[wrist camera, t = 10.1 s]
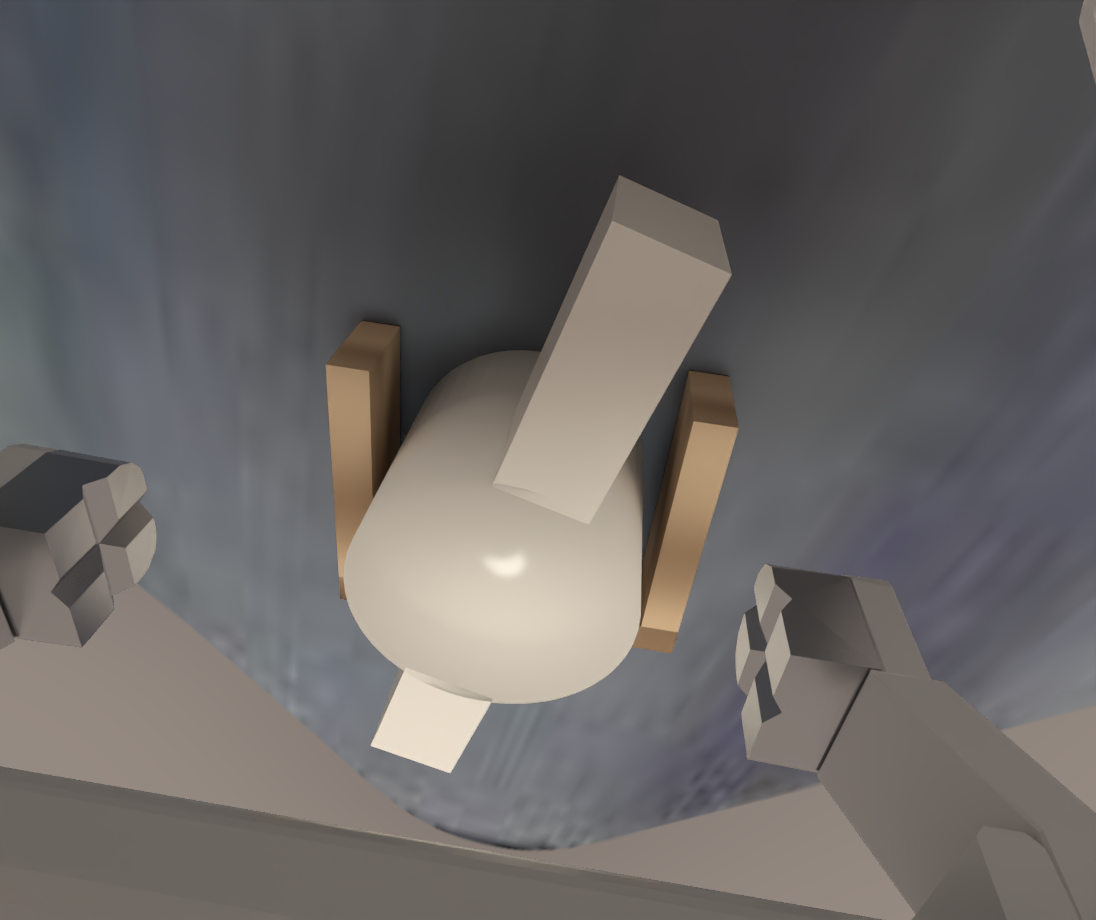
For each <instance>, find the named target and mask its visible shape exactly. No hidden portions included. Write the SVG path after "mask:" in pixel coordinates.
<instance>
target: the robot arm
mask: <svg viewBox="0 0 1096 920" xmlns="http://www.w3.org/2000/svg"><path fill="white" fill-rule="evenodd" d="M146 491H147V487H146V484H145V480H144V476H143V473H142V469H140V468H139V467H137V466H136V465H134V464H132V463H130V462H125V461H119V460H114V459H108V458H103V457H97V456H92V455H86V454H81V453H75V452H70V451H64V450H55V449H51V448H45V447H39V446H33V445H27V444H19V445H12V446H8V447H7V448H5V449H4V450H2V451H1V452H0V650H1V649H3V648H4V647H6V646H8V645H10V644H11V643H13V642H14V641H15V640H14V638H17V639H24V640H31V641H38V642H45V643H53V644H60V645H67V646H75V647H83V645H85V643H86V642H87V641H88V640H89V639H90V638H91V636H92V635H93V634H94V633H95V632H96V630H97V629H98V628H99V627H100V626H101V625H102V623H103V622H104V621H105V620H106V619H107V618H108V617H109V615H110V614H111V613H112V612H113V611H114V601H113V596H114V595H116V594H118V593H120V592H122V591H124V590H126V589H129V588H131V587H133V586H135V585H136V584H137V582H138V581H139V580H140V579H141V577H142V576H143V575H144V574H145V573H146V571H147V570H148V567H149V565H150V562H151V560H152V557H153V555H154V552H155V550H156V528H155V523H154V518H153V517H152V515H151V514H150V513H149V512H148V511H147V510H146V509H145V508H144V507H143V506H142V505H141V504H140V502H139V501H140V500H141V498H142V497H143V496H144V494H145V493H146ZM754 591H755V597H756V603H757V605H756V606H754V607H753V608H751V609H750V610H748V611H747V612H745V614H744V617H743V620H742V623H741V627H740V630H739V634H738V641H737V647H736V675H737V684H738V686H739V687H740V688H741V689H742V690H743V691H744V693H745V694H746V695H747V696H748V697H747V699H746V702H745V705H744V708H743V710H742V713H741V715H742V723H743V730H744V737H745V744H746V752H747V759H750V760H755V761H760V762H765V763H770V764H775V765H780V766H786V767H791V768H796V769H801V770H806V771H811V772H816V773H818V774H817V777H818V778H819V780H820V781H821V783H822V784H823V785H824V787H825V788H826V790H827V791H828V792H829V794H830V795H831V797H832V798H833V799H834V801H835V802H836V803H837V805H838V806H839V808H840V809H841V811H842V812H843V813H844V815H845V816H846V818H847V819H848V820H849V822H850V823H851V824H852V826H853V827H854V829H855V830H856V832H857V833H858V834H859V836H860V837H861V838H862V840H863V841H864V843H865V844H866V845H867V847H868V848H869V850H870V851H871V852H872V854H873V855H874V857H875V858H876V859H877V861H878V862H879V864H880V865H881V866H882V868H883V869H884V871H885V872H886V873H887V875H888V876H889V878H890V879H891V880H892V882H893V883H894V885H895V886H896V887H897V889H898V890H899V891H900V893H901V894H902V896H903V897H904V898H905V900H906V901H907V903H908V904H909V905H910V907H911V908H912V910H913V911H914V912H915V914H916V915H915V917H914V918H913V919H912V920H1096V813H1095V812H1094V811H1093V810H1092V809H1090V808H1089V807H1088V806H1087V805H1086V804H1084V803H1083V802H1082V801H1081V800H1080V799H1079V798H1078V797H1076V796H1075V795H1074V794H1073V793H1072V792H1071V791H1070V790H1068V789H1067V788H1066V787H1065V786H1064V785H1063V784H1061V783H1060V782H1059V781H1058V780H1057V779H1056V778H1055V777H1053V776H1052V775H1051V774H1050V773H1049V772H1048V771H1046V770H1045V769H1044V768H1043V767H1042V766H1041V765H1040V764H1038V763H1037V762H1036V761H1035V760H1034V759H1033V758H1031V757H1030V756H1029V755H1028V754H1027V753H1026V752H1024V751H1023V750H1022V749H1021V748H1020V747H1018V745H1016V744H1015V743H1014V742H1013V741H1012V740H1011V739H1009V738H1008V737H1007V736H1006V735H1005V734H1004V733H1002V732H1001V731H1000V730H999V729H998V728H997V727H996V726H994V725H993V724H992V723H991V722H990V721H989V720H987V719H986V718H985V717H984V716H983V715H982V714H980V713H979V712H978V711H977V710H976V709H975V708H974V707H972V706H971V705H970V704H969V703H968V702H967V701H965V700H964V699H963V698H962V697H961V696H960V695H958V694H957V693H956V692H955V691H954V690H953V689H952V688H950V687H949V686H948V685H947V684H946V683H945V682H942V681H937V680H931V678H930V676H929V673H928V671H927V669H926V666H925V664H924V661H923V659H922V657H921V654H920V652H919V649H918V647H917V645H916V642H915V640H914V638H913V635H912V633H911V630H910V628H909V626H908V623H907V621H906V618H905V616H904V614H903V611H902V609H901V606H900V604H899V602H898V599H897V597H896V595H895V592H894V590H893V587H892V586H891V585H890V584H889V583H888V582H887V581H886V580H881V579H873V578H866V577H858V576H851V575H844V576H841V575H835V574H829V573H822V572H816V571H809V570H803V569H796V568H790V567H783V566H777V565H770V564H765V565H764V566H763V568H762V569H761V570H760V572H759V575H758V577H757V580H756V583H755V585H754ZM0 920H881V919H876V918H870V917H865V916H859V915H853V914H847V913H842V912H835V911H830V910H824V909H819V908H812V907H807V906H801V905H796V904H789V903H784V902H778V901H772V900H767V899H761V898H755V897H750V896H744V895H738V894H732V893H726V892H720V891H715V890H709V889H703V888H698V887H692V886H686V885H681V884H675V883H669V882H663V881H658V880H652V879H646V878H640V877H634V876H629V875H623V874H617V873H611V872H605V871H600V870H594V869H588V868H582V867H576V866H570V865H565V864H559V863H553V862H547V861H542V860H536V859H530V858H524V857H518V856H513V855H507V854H501V853H495V852H489V851H484V850H478V849H472V848H466V847H460V846H454V845H448V844H443V843H437V842H431V841H425V840H420V839H414V838H407V837H402V836H397V835H391V834H385V833H379V832H374V831H368V830H362V829H356V828H351V827H345V826H339V825H333V824H327V823H322V822H316V821H311V820H305V819H299V818H293V817H288V816H282V815H276V814H271V813H265V812H259V811H253V810H248V809H241V808H236V807H230V806H224V805H219V804H213V803H208V802H202V801H196V800H190V799H185V798H179V797H173V796H167V795H162V794H155V793H150V792H144V791H139V790H133V789H127V788H121V787H116V786H110V785H104V784H99V783H93V782H87V781H81V780H75V779H70V778H64V777H58V776H52V775H47V774H41V773H34V772H29V771H24V770H18V769H12V768H6V767H1V766H0Z"/></svg>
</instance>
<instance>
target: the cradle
mask: <svg viewBox="0 0 1096 920" xmlns="http://www.w3.org/2000/svg"><path fill="white" fill-rule="evenodd" d="M326 379H327V395H328V411H329V427H330V442H331V458H332V474H333V490H334V506H335V522H336V538H337V553H338V569H339V585H340V599H345V600H347V598H346V594H345V587H344V580H343V578H344V563H345V559H346V555H347V551H348V548H349V546H350V544H351V542H352V539H353V537H354V535H355V533H356V531H357V529H358V527H359V526H360V524H361V522H362V520H363V518H364V516H365V514H366V512H367V510H368V508H369V506H370V504H371V503H372V501H373V499H374V497H375V495H376V493H377V491H378V489H379V487H380V485H381V483H382V482H383V480H384V478H385V476H386V474H387V472H388V470H389V468H390V466H391V464H392V462H393V460H394V459H395V457H396V455H397V453H398V451H399V449H400V327H399V326H392V325H386V324H379V323H373V322H366V321H361V322H360V323H359V324H358V325H357V327H356V328H355V329H354V330H353V332H352V333H351V334H350V335H349V336H348V338H347V339H346V340H345V341H344V343H343V344H342V345H341V346H340V347H339V349H338V350H337V351H336V352H335V354H334V355H333V356H332V357H331V359H330V360H329V361H328V362H327V363H326ZM738 429H739V427H738V422H737V417H736V411H735V406H734V400H733V395H732V390H731V384H730V379H729V376H722V375H715V374H709V373H702V372H696V371H689V373H688V377H687V381H686V385H685V389H684V393H683V398H682V402H681V406H680V410H679V414H678V418H677V422H676V427H675V431H674V435H673V439H672V443H671V447H670V451H669V456H668V460H667V464H666V468H665V472H664V476H663V480H662V484H661V489H660V493H659V497H658V501H657V505H656V509H655V513H654V518H653V522H652V526H651V530H650V534H649V538H648V542H647V547H646V551H645V555H644V559H643V563H642V576H641V618H640V624H639V629H638V632H637V635H636V638H635V641H634V643H633V645H632V647H636V648H642V649H648V650H654V651H660V652H666V653H672V651H673V647H674V644H675V641H676V637H677V634H678V630H679V627H680V624H681V620H682V617H683V614H684V610H685V607H686V604H687V600H688V597H689V593H690V590H691V587H692V583H693V580H694V577H695V573H696V570H697V567H698V563H699V560H700V557H701V553H702V550H703V546H704V543H705V540H706V536H707V533H708V530H709V526H710V523H711V520H712V516H713V513H714V509H715V506H716V503H717V499H718V496H719V493H720V489H721V486H722V483H723V479H724V476H725V472H726V469H727V466H728V462H729V459H730V456H731V452H732V449H733V446H734V442H735V439H736V436H737V432H738Z"/></svg>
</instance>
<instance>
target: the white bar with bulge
mask: <svg viewBox="0 0 1096 920" xmlns="http://www.w3.org/2000/svg"><path fill="white" fill-rule="evenodd" d="M731 275H732V273H731V269H730V265H729V261H728V257H727V253H726V249H725V245H724V242H723V238H722V234H721V230H720V226H719V222H718V220H716V219H714V218H712V217H710V216H708V215H705V214H703V213H701V212H699V211H697V210H694V209H692V208H690V207H688V206H686V205H684V204H681V203H679V202H677V201H675V200H673V199H670V198H668V197H666V196H664V195H662V194H659V193H657V192H655V191H653V190H651V189H649V188H646V187H644V186H642V185H640V184H638V183H635V182H633V181H631V180H629V179H627V178H624V177H622V176H620V175H619V177H618V179H617V181H616V184H615V186H614V188H613V190H612V193H611V195H610V197H609V199H608V202H607V204H606V206H605V208H604V211H603V213H602V215H601V218H600V220H599V222H598V224H597V227H596V229H595V231H594V233H593V236H592V238H591V240H590V242H589V245H588V247H587V249H586V251H585V254H584V256H583V258H582V260H581V263H580V265H579V267H578V269H577V272H576V274H575V276H574V279H573V281H572V283H571V285H570V288H569V290H568V292H567V294H566V297H565V299H564V301H563V303H562V306H561V308H560V310H559V312H558V315H557V317H556V319H555V321H554V324H553V326H552V328H551V330H550V333H549V335H548V337H547V339H546V342H545V344H544V346H543V349H542V351H541V352H538V351H528V350H509V351H502V352H495V353H490V354H487V355H483V356H480V357H477V358H474V359H472V360H470V361H467V362H465V363H463V364H462V365H460V366H458V367H457V368H455V369H453V370H452V371H450V372H449V373H448V374H447V375H446V376H444V377H443V378H442V379H441V380H440V381H439V382H438V383H437V384H436V385H435V387H434V388H433V389H432V390H431V392H430V393H429V395H428V396H427V398H426V399H425V401H424V403H423V405H422V407H421V409H420V411H419V413H418V414H417V416H416V418H415V420H414V422H413V424H412V426H411V428H410V430H409V432H408V434H407V436H406V437H405V439H404V441H403V443H402V445H401V447H400V449H399V451H398V453H397V455H396V457H395V459H394V460H393V462H392V464H391V466H390V468H389V470H388V472H387V474H386V476H385V478H384V480H383V482H382V483H381V485H380V487H379V489H378V491H377V493H376V495H375V497H374V499H373V501H372V503H371V504H370V506H369V508H368V510H367V512H366V514H365V516H364V518H363V520H362V522H361V524H360V526H359V527H358V529H357V531H356V533H355V535H354V537H353V539H352V542H351V544H350V546H349V548H348V551H347V555H346V559H345V563H344V578H343V580H344V587H345V594H346V598H347V601H348V604H349V608H350V610H351V612H352V614H353V616H354V618H355V620H356V622H357V624H358V625H359V627H360V628H361V630H362V632H363V633H364V635H365V636H366V637H367V638H368V639H369V641H370V642H371V643H372V644H373V645H374V646H375V647H376V648H377V649H378V650H379V651H380V652H381V653H382V654H383V655H384V656H385V657H386V658H387V659H389V660H390V661H391V662H392V663H394V664H395V665H396V666H398V667H399V669H398V671H397V674H396V677H395V680H394V682H393V685H392V688H391V691H390V693H389V696H388V699H387V702H386V705H385V707H384V710H383V713H382V716H381V718H380V721H379V724H378V727H377V730H376V732H375V735H374V738H373V741H372V743H371V746H373V747H376V748H379V749H381V750H384V751H387V752H390V753H393V754H396V755H399V756H402V757H405V758H408V759H410V760H413V761H416V762H419V763H422V764H425V765H428V766H431V767H434V768H437V769H440V770H442V771H445V772H448V773H451V771H452V769H453V768H454V766H455V764H456V762H457V761H458V759H459V757H460V756H461V754H462V752H463V750H464V749H465V747H466V745H467V743H468V742H469V740H470V738H471V736H472V735H473V733H474V731H475V730H476V728H477V726H478V724H479V723H480V721H481V719H482V717H483V716H484V714H485V712H486V710H487V709H488V707H489V705H490V704H491V702H493V703H508V704H522V703H536V702H543V701H550V700H554V699H558V698H562V697H566V696H568V695H571V694H574V693H577V692H580V691H582V690H584V689H586V688H588V687H590V686H592V685H594V684H595V683H597V682H598V681H600V680H601V679H603V678H604V677H606V676H607V675H608V674H609V673H610V672H612V671H613V670H614V669H615V668H616V667H617V666H618V665H619V664H620V663H621V661H622V660H623V659H624V658H625V657H626V655H627V654H628V652H629V650H630V648H631V647H632V645H633V643H634V641H635V638H636V635H637V632H638V629H639V624H640V618H641V576H642V520H643V464H644V454H643V443H642V437H641V433H642V431H643V429H644V427H645V426H646V424H647V422H648V420H649V419H650V417H651V415H652V413H653V412H654V410H655V408H656V406H657V405H658V403H659V401H660V399H661V398H662V396H663V394H664V392H665V391H666V389H667V387H668V385H669V384H670V382H671V380H672V378H673V377H674V375H675V373H676V371H677V370H678V368H679V366H680V364H681V363H682V361H683V359H684V357H685V356H686V354H687V352H688V350H689V349H690V347H691V345H692V343H693V342H694V340H695V338H696V336H697V335H698V333H699V331H700V330H701V328H702V326H703V324H704V323H705V321H706V319H707V317H708V316H709V314H710V312H711V310H712V309H713V307H714V305H715V303H716V302H717V300H718V298H719V296H720V295H721V293H722V291H723V289H724V288H725V286H726V284H727V282H728V281H729V279H730V277H731Z"/></svg>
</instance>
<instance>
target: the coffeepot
mask: <svg viewBox="0 0 1096 920" xmlns="http://www.w3.org/2000/svg"><path fill="white" fill-rule="evenodd" d="M1079 25H1080V29H1081V33H1082V36H1083V40H1084V44H1085V47H1086V51H1087V55H1088V58H1089V62H1090V66H1091V69H1092V73H1093V76H1094V80H1095V84H1096V0H1084V2H1083V6H1082V10H1081V14H1080V18H1079Z"/></svg>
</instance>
